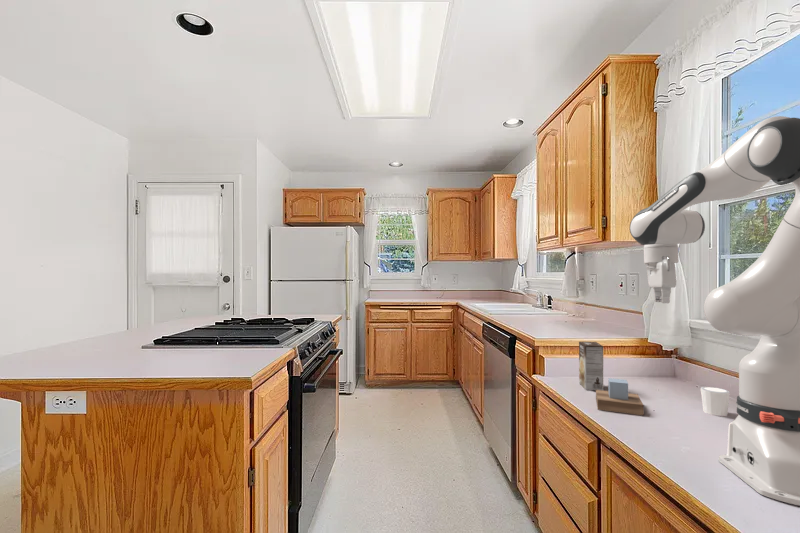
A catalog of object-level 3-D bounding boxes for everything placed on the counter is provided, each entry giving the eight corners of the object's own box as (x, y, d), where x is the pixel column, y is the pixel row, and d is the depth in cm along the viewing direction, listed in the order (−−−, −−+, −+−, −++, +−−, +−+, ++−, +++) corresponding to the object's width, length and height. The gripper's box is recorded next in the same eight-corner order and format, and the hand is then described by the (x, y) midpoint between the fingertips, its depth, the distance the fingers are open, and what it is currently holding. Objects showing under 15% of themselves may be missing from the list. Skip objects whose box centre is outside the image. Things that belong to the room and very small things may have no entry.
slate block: (628, 400, 120) (628, 383, 120) (609, 398, 122) (609, 381, 122) (626, 395, 124) (626, 379, 124) (608, 393, 126) (608, 378, 127)
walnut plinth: (643, 415, 115) (643, 405, 115) (597, 409, 120) (597, 399, 120) (637, 403, 126) (637, 394, 126) (595, 398, 131) (595, 389, 131)
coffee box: (578, 383, 150) (578, 341, 151) (596, 384, 149) (596, 341, 149) (585, 390, 141) (585, 345, 142) (604, 391, 140) (604, 345, 140)
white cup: (735, 417, 114) (735, 393, 114) (708, 415, 115) (708, 391, 115) (721, 410, 121) (721, 387, 121) (696, 408, 122) (695, 385, 122)
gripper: (682, 254, 110) (683, 304, 109) (665, 259, 129) (666, 301, 128) (655, 255, 113) (656, 303, 112) (643, 259, 131) (644, 301, 131)
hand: (662, 302), depth 120 cm, fingers open, 8 cm apart
